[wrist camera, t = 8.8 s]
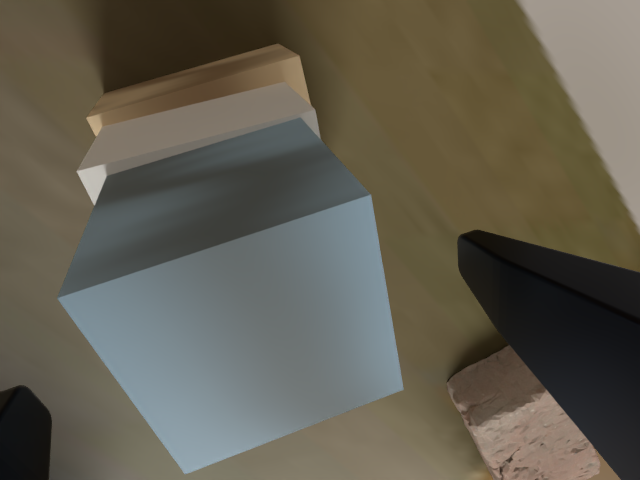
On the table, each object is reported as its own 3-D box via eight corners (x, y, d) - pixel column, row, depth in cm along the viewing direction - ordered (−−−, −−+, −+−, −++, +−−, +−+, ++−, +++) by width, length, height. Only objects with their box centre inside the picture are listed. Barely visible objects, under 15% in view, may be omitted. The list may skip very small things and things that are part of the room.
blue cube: (184, 321, 13) (185, 474, 9) (106, 175, 11) (56, 298, 6) (337, 268, 14) (403, 389, 10) (300, 117, 11) (370, 194, 7)
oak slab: (176, 239, 21) (175, 287, 17) (104, 91, 17) (86, 117, 13) (314, 192, 21) (339, 231, 18) (277, 42, 18) (299, 55, 14)
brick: (438, 380, 31) (475, 436, 28) (538, 322, 31) (589, 370, 27) (486, 473, 41) (519, 525, 37) (564, 428, 41) (605, 475, 37)
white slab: (170, 275, 17) (167, 345, 14) (102, 126, 14) (76, 171, 10) (316, 231, 18) (347, 288, 14) (284, 81, 14) (315, 109, 11)
